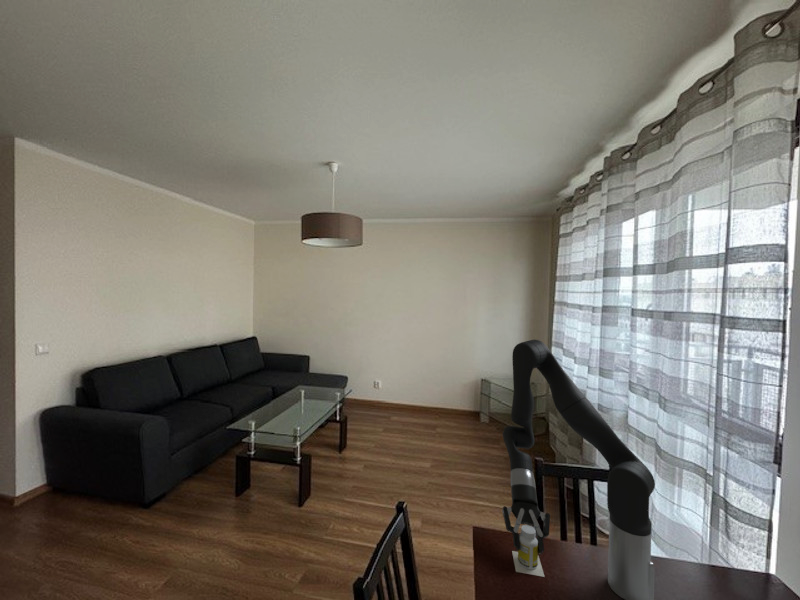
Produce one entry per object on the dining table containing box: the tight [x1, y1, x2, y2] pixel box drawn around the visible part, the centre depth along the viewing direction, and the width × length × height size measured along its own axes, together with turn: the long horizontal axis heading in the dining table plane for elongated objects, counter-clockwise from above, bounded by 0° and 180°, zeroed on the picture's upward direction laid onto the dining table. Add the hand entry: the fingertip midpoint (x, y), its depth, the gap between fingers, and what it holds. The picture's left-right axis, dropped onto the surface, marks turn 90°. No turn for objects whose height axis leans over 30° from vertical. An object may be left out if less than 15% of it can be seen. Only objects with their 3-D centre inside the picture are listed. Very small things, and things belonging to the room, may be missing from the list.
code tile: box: [511, 550, 546, 578], centre depth 96 cm, size 8×8×1 cm
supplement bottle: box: [517, 524, 539, 570], centre depth 96 cm, size 5×5×10 cm
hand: (529, 551), depth 94 cm, fingers closed on supplement bottle, 5 cm apart
